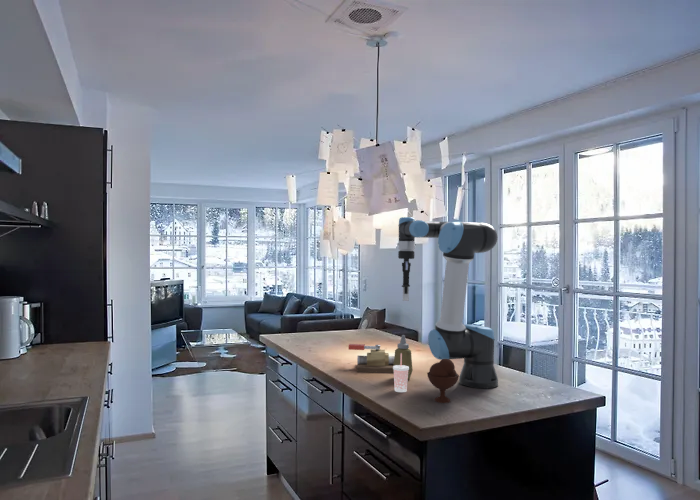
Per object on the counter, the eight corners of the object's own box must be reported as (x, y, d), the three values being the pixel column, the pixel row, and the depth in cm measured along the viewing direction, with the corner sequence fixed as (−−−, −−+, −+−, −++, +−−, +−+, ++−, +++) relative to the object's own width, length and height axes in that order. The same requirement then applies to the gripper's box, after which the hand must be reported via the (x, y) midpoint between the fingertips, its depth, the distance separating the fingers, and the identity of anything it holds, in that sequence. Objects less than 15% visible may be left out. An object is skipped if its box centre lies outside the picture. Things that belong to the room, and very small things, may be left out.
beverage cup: (408, 393, 191) (408, 355, 191) (391, 392, 192) (392, 354, 192) (409, 388, 197) (409, 352, 197) (393, 387, 198) (393, 351, 198)
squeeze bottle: (396, 381, 207) (397, 337, 207) (390, 376, 215) (390, 333, 215) (415, 380, 209) (416, 336, 209) (408, 375, 217) (408, 333, 217)
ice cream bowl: (453, 396, 188) (454, 355, 188) (461, 405, 176) (462, 361, 176) (424, 396, 187) (425, 355, 187) (430, 405, 176) (431, 361, 176)
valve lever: (380, 349, 231) (380, 344, 231) (380, 351, 228) (380, 345, 228) (349, 348, 233) (349, 343, 233) (348, 349, 230) (348, 344, 230)
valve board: (398, 372, 222) (398, 354, 222) (357, 371, 223) (357, 353, 223) (396, 365, 236) (397, 348, 236) (357, 364, 237) (357, 347, 237)
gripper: (398, 250, 248) (397, 299, 248) (398, 250, 235) (398, 301, 235) (413, 250, 247) (412, 299, 247) (415, 250, 234) (414, 302, 234)
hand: (405, 300), depth 241 cm, fingers closed
